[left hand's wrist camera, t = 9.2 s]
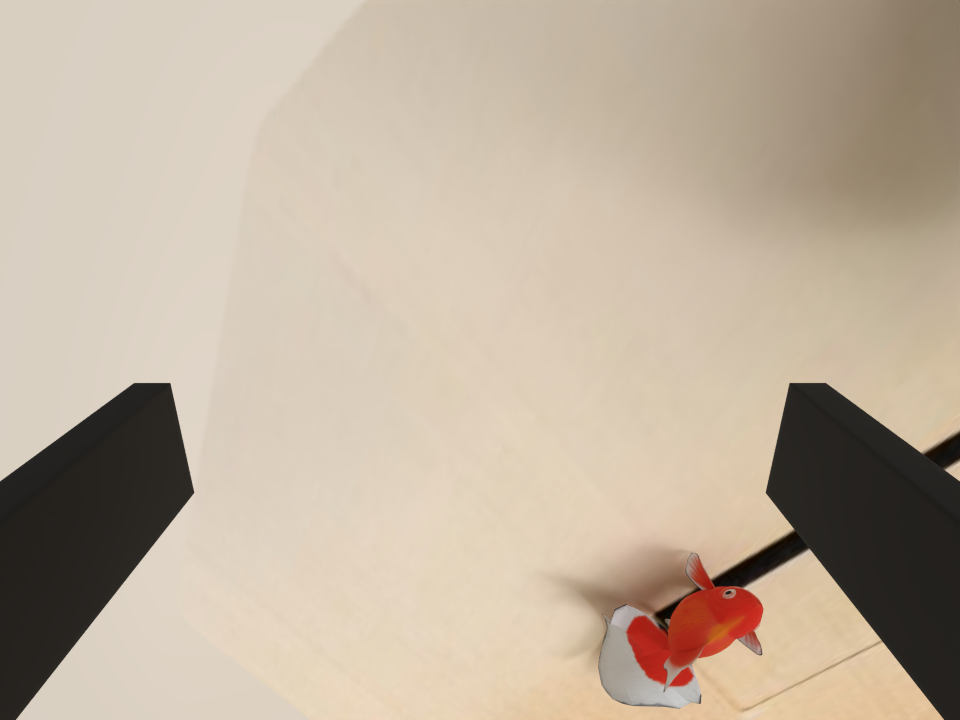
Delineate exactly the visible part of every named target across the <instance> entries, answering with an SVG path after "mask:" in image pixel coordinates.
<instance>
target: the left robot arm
mask: <svg viewBox="0 0 960 720" xmlns="http://www.w3.org/2000/svg"><path fill="white" fill-rule="evenodd" d="M193 494H194V490H193V485H192V480H191V476H190V471H189V467H188V462H187V457H186V453H185V448H184V444H183V439H182V434H181V430H180V425H179V421H178V416H177V412H176V407H175V402H174V398H173V393H172V389H171V384H170V383H134V384H132V385H131V386H130V387H128V388H127V389H126V390H124V391H123V392H121V393H120V394H119V395H117V396H116V397H115V398H113V399H112V400H111V401H109V402H108V403H106V404H105V405H104V406H102V407H101V408H100V409H98V410H97V411H96V412H94V413H93V414H91V415H90V416H89V417H87V418H86V419H85V420H83V421H82V422H81V423H79V424H78V425H77V426H75V427H74V428H72V429H71V430H70V431H68V432H67V433H66V434H64V435H63V436H61V437H60V438H59V439H57V440H56V441H55V442H53V443H52V444H51V445H49V446H48V447H47V448H45V449H44V450H42V451H41V452H40V453H38V454H37V455H36V456H34V457H33V458H31V459H30V460H29V461H27V462H26V463H25V464H23V465H22V466H21V467H19V468H18V469H16V470H15V471H14V472H12V473H11V474H10V475H8V476H7V477H6V478H4V479H3V480H1V481H0V720H16V719H17V718H18V716H19V715H20V714H21V712H22V711H23V710H24V709H25V707H26V706H27V705H28V704H29V702H30V701H31V700H32V699H33V697H34V696H35V695H36V693H37V692H38V691H39V690H40V688H41V687H42V686H43V685H44V683H45V682H46V681H47V679H48V678H49V677H50V676H51V674H52V673H53V672H54V670H55V669H56V668H57V667H58V665H59V664H60V663H61V662H62V660H63V659H64V658H65V657H66V655H67V654H68V653H69V651H70V650H71V649H72V648H73V646H74V645H75V644H76V642H77V641H78V640H79V639H80V637H81V636H82V635H83V634H84V632H85V631H86V630H87V629H88V627H89V626H90V625H91V623H92V622H93V621H94V620H95V618H96V617H97V616H98V615H99V613H100V612H101V611H102V609H103V608H104V607H105V606H106V604H107V603H108V602H109V600H110V599H111V598H112V597H113V595H114V594H115V593H116V592H117V590H118V589H119V588H120V587H121V585H122V584H123V583H124V581H125V580H126V579H127V578H128V576H129V575H130V574H131V573H132V571H133V570H134V569H135V568H136V566H137V565H138V564H139V562H140V561H141V560H142V559H143V557H144V556H145V555H146V554H147V552H148V551H149V550H150V548H151V547H152V546H153V545H154V543H155V542H156V541H157V540H158V538H159V537H160V536H161V534H162V533H163V532H164V531H165V529H166V528H167V527H168V526H169V524H170V523H171V522H172V520H173V519H174V518H175V517H176V515H177V514H178V513H179V512H180V510H181V509H182V508H183V506H184V505H185V504H186V503H187V501H188V500H189V499H190V498H191V496H192V495H193ZM766 494H767V495H768V496H769V498H770V499H771V500H772V501H773V503H774V504H775V505H776V506H777V508H778V509H779V510H780V512H781V513H782V514H783V515H784V517H785V518H786V519H787V520H788V522H789V523H790V524H791V526H792V527H793V528H794V529H795V531H796V532H797V533H798V534H799V536H800V537H801V538H802V540H803V541H804V542H805V543H806V545H807V546H808V547H809V548H810V550H811V551H812V552H813V554H814V555H815V556H816V557H817V559H818V560H819V561H820V562H821V564H822V565H823V566H824V568H825V569H826V570H827V571H828V573H829V574H830V575H831V576H832V578H833V579H834V580H835V582H836V583H837V584H838V585H839V587H840V588H841V589H842V590H843V592H844V593H845V594H846V595H847V597H848V598H849V599H850V601H851V602H852V603H853V604H854V606H855V607H856V608H857V609H858V611H859V612H860V613H861V615H862V616H863V617H864V618H865V620H866V621H867V622H868V623H869V625H870V626H871V627H872V629H873V630H874V631H875V632H876V634H877V635H878V636H879V637H880V639H881V640H882V641H883V643H884V644H885V645H886V646H887V648H888V649H889V650H890V651H891V653H892V654H893V655H894V657H895V658H896V659H897V660H898V662H899V663H900V664H901V665H902V667H903V668H904V669H905V671H906V672H907V673H908V674H909V676H910V677H911V678H912V679H913V681H914V682H915V683H916V685H917V686H918V687H919V688H920V690H921V691H922V692H923V693H924V695H925V696H926V697H927V699H928V700H929V701H930V702H931V704H932V705H933V706H934V707H935V709H936V710H937V711H938V713H939V714H940V715H941V716H942V718H943V719H944V720H960V481H959V480H957V479H956V478H954V477H953V476H952V475H950V474H949V473H948V472H946V471H945V470H944V469H942V468H941V467H939V466H938V465H937V464H935V463H934V462H933V461H931V460H930V459H929V458H927V457H926V456H924V455H923V454H922V453H920V452H919V451H918V450H916V449H915V448H914V447H912V446H911V445H909V444H908V443H907V442H905V441H904V440H903V439H901V438H900V437H899V436H897V435H896V434H894V433H893V432H892V431H890V430H889V429H888V428H886V427H885V426H884V425H882V424H881V423H879V422H878V421H877V420H875V419H874V418H873V417H871V416H870V415H869V414H867V413H866V412H864V411H863V410H862V409H860V408H859V407H858V406H856V405H855V404H854V403H852V402H851V401H849V400H848V399H847V398H845V397H844V396H843V395H841V394H840V393H839V392H837V391H836V390H834V389H833V388H832V387H830V386H829V385H828V384H826V383H790V384H789V389H788V393H787V398H786V402H785V407H784V412H783V416H782V421H781V425H780V430H779V434H778V439H777V444H776V448H775V453H774V457H773V462H772V467H771V471H770V476H769V480H768V485H767V490H766Z"/></svg>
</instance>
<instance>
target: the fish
mask: <svg viewBox="0 0 960 720" xmlns="http://www.w3.org/2000/svg"><path fill="white" fill-rule="evenodd" d="M686 574H687V576H688V577H689V578H690V579H691V581H692V582H693V583H694V584H695V585H696V586H697V587H699V588H700V589H701V591H698V592H696V593H693V594H691V595H689V596H687V597H686V598H684V599H683V600H682V601H681V602H680V604H679V605H678V606H677V608H676V609H675V611H674V612H673V614H672V616H671V619H665V622H666V623H667V624H668V626H669V630H668V632H667V630H666V629H665V627H663V626H662V625H660V624H659V623H658V622H656V621H655V620H654V619H652V618H651V617H649V616H648V615H647V614H645V613H643V612H641V611H639V610H638V609H635V608H633V607H631V606H629V605H626V604H625V605H623V606H621V607H619V608H617V609H615V610H614V614H613V617H612V620H611V619H610V618H609V617H607V616H605V615H603V614H602V615H603V616H604V618H605V620H606V624H607V632H606V635H605V637H604V641H603V645H602V649H601V653H600V657H599V664H598V669H599V674H600V679H601V684H602V686H603V688H604V689H605V691H606V692H607V693H608V694H609V695H610V696H611V698H612V699H614V700H616V701H618V702H620V703H623V704H627V705H631V706H658V707H671V708H678V709H680V708H682V707H683V706H685V705H687V704H689V703H699V704H701V692H700V688H699V684H698V681H697V678H696V676H695V673H694V670H693V668H692V664H693V663H694V662H695V660H696V659H697V658H703V657H708V656H712V655H714V654H717V653H719V652H721V651H722V650H724V649H725V648H727V647H728V646H730V645H731V644H732V643H733V641H734V640H735V639H738V640H739V641H740V642H741V643H743V644H744V645H745V646H747V647H748V648H749V649H750V650H752V651H753V652H755V653H756V654H758V655H762V649H761V645H760V642H759V641H758V639H757V636H756V634H755V632H754V630H756V629H757V628H758V627H759V625H760V621H761V618H762V614H763V606H762V604H761V602H760V600H759V599H758V598H757V597H756V596H755V595H754V594H752V593H751V592H749V591H747V590H745V589H743V588H740V587H734V586H729V587H716V588H715V586H714V585H713V583H712V581H711V580H710V578H709V577H708V575H707V573H706V571H705V569H704V567H703V566H702V563H701V561H700V559H699V556H698V555H697V554H696V553H691V555H690V557H689V558H688V561H687V565H686Z"/></svg>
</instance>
